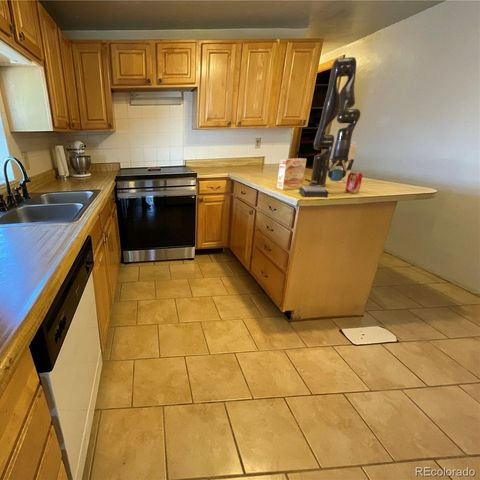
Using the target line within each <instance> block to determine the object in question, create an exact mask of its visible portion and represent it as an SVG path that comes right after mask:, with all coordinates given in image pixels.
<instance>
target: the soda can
mask: <svg viewBox="0 0 480 480" xmlns="http://www.w3.org/2000/svg"><path fill="white" fill-rule="evenodd" d="M362 173H363V172H362V171H350V174H349V175H348V179H347V183H345V189H344V190H345V192H346V193H347V194H357V193H359V192H360V189H361V185H362V181H363V174H362Z"/></svg>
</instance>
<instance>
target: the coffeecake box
mask: <svg viewBox="0 0 480 480" xmlns="http://www.w3.org/2000/svg"><path fill="white" fill-rule="evenodd" d="M306 165H307V158H305V157H304V158H303V157H296V158H295V157H294V158H280V159H279V167H278V176H277V183H276V189H278V190H281V191H288V190H298V189H300V188H303V186H304V185H303V184H304V179H305V171H306Z"/></svg>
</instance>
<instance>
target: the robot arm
mask: <svg viewBox="0 0 480 480" xmlns="http://www.w3.org/2000/svg"><path fill="white" fill-rule="evenodd" d="M356 74H357V59H356V57H355V56H354V57H353V56H348V57H339V58H336V59H335V60H334V61H333V63H332V66H331V70H330V76H329V82H328V88H327V92H326V96H325V100H324V103H323V107H322V112H321V118H320V120H319V125H318V129H317V131H316V135H315V138H314V142H313V149H314V150H319V151H320V150H324V151H323V152H321V153H319V154H316V155H314V157H313V158H314V159H313V164H312V172H311V176H310V177H311V178H310V179H309V178H304V180H305V181H308V182H309V186H321V187H326V185H327V184H326V183H327V178H329V179H330V178H331V174H332V170H333V169H336V167H341V169H342V168H343V170H344V173H343V177H342V178H344V177H345V176H346V172H347V171H348V170H352V167H353V164H354V161H355V159H354V160H353V159H348V155H349V150H350V147H351V144H352V143H351V142H352V137H353V133H354V130H355V128H356V126H357V124H358V122H359V120H360V118H361V111H360V109H359V108H353V107H354V106H355V104H356V95H355V94H356V93H355V84H356ZM342 77H343V78H344V77H346V79H347V80H346V82H345V84H344V85H343V87H342V88H341V90H340V91H339V89H338V79H339V78H342ZM334 120H336V121H337V123H338V124H340V125H341V124H347V126H345V127H342V128H339V129H338V131H337V134H336V139H335V136H334V134H324V133H325V132H326V130H327V129H328V127H329V126H330V125H331V124H332V122H333V121H334ZM332 151H333V152H332ZM331 157H332V158H331ZM347 161H348V163H349V164H348V167H347V168H346V165H345V163H346V162H347ZM331 163H332V164H331ZM330 164H331V165H330Z"/></svg>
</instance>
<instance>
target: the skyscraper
mask: <svg viewBox="0 0 480 480" xmlns="http://www.w3.org/2000/svg"><path fill="white" fill-rule="evenodd" d="M354 144H355V145H354ZM357 146H358V145H357V143H356V142H355V141H351V147H350V150H349V155H348V159H353V160H354V161H355V157H356V153H357ZM348 164H349V163H348V161H347V162H346V163H345V165H346V168H347V167H348ZM340 170H343V168H342V167H341V169H340ZM351 170H352V169H351ZM351 170H348V171H347V172H346V176H345V177H344V178H342V180H341V181H337V183H340V184H341V183H342V184H346V183H347V179H348V175H349V174H350V172H352V171H351Z"/></svg>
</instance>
